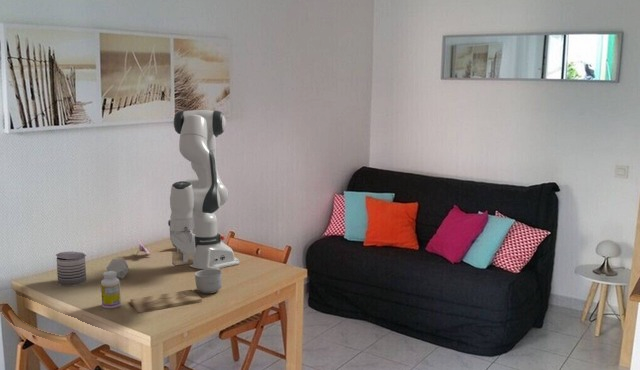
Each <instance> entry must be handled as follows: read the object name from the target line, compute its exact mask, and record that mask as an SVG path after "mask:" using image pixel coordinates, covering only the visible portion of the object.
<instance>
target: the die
mask: <svg viewBox="0 0 640 370" xmlns="http://www.w3.org/2000/svg"><path fill="white" fill-rule="evenodd" d="M106 270H107V271H115V272H117V276H116V278H118V279H124V278H125V276H126V275H127V273H128V272H129V271H130V268H129V265H128V264H127V261H126V260H125V258H112V259H111V261H110V263H109V264H108V265H107V266H106ZM107 271H106V272H107Z"/></svg>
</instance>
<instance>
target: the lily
mask: <svg viewBox="0 0 640 370" xmlns="http://www.w3.org/2000/svg"><path fill="white" fill-rule="evenodd" d="M137 240H138V241H136V242H137V243H138V244H139V246H138V247H139V248H138V249H139V250H138V251H137V253H136V254H135V256H134V258H136V256H137V255H138V253H139V252H144V253H145V254H147V255H148V257H149V258H151V256H150V252H149V250H148V249H147V245H143V244H142V242H141V240H140V239H139V238H137Z"/></svg>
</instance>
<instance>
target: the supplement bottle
mask: <svg viewBox="0 0 640 370" xmlns="http://www.w3.org/2000/svg"><path fill="white" fill-rule="evenodd" d="M116 276H117V272H115V271H105V272H103V279H101V281H100V286H101V287H100V289H101V290H100V291H101V306H102V307H103V308H105V309H115V308H119V307H120V305H121V299H122V298H121V279H120V278H116Z"/></svg>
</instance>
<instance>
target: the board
mask: <svg viewBox="0 0 640 370" xmlns="http://www.w3.org/2000/svg"><path fill="white" fill-rule="evenodd" d="M129 300H130V301H129V302H130V304H131V305H132V306H133V307H134V309H135V310H136V311H137V313H138V314H139V313H145V312H152V311H156V310H162V309H168V308H174V307H180V306H185V305H191V304H197V303H201V302H203V299H202V297H200V296H199V295H198V294H197V293H196V291H194V290H193V289H186V290H180V291H174V292H167V293H161V294H157V295H150V296H145V297H139V298H132V299H129Z"/></svg>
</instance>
